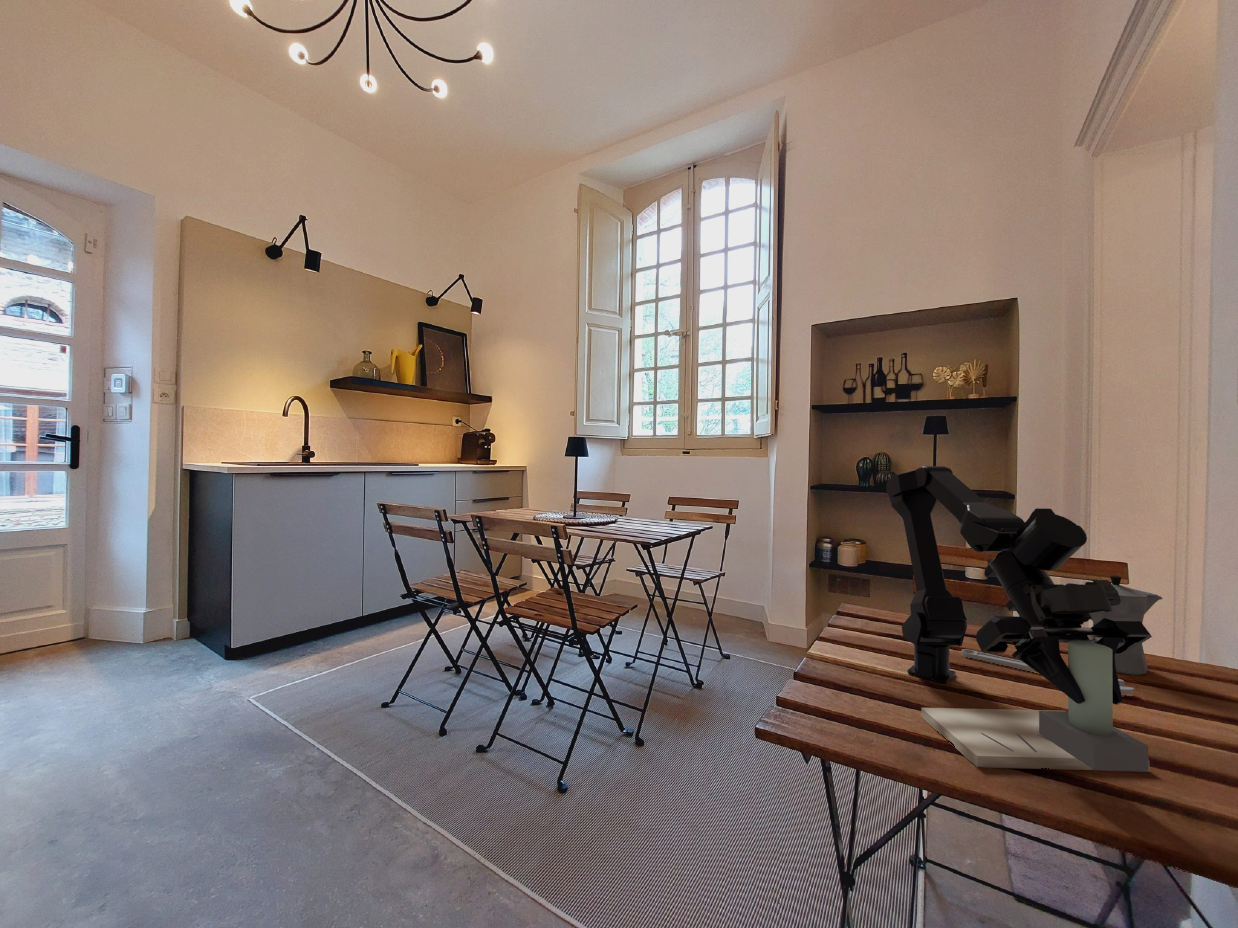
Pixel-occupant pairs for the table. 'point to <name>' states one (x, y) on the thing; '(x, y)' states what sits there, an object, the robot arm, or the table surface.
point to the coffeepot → (1129, 607)
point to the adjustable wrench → (1021, 665)
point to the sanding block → (1093, 716)
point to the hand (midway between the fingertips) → (1100, 702)
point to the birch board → (1000, 738)
